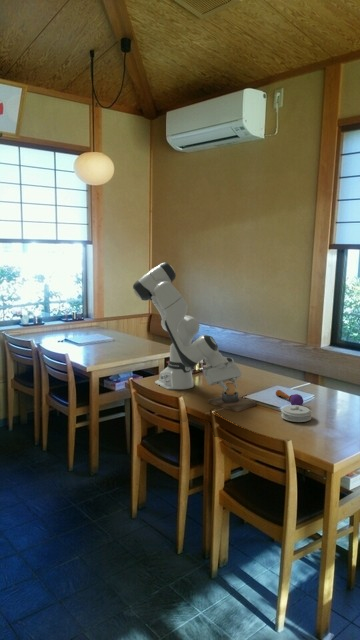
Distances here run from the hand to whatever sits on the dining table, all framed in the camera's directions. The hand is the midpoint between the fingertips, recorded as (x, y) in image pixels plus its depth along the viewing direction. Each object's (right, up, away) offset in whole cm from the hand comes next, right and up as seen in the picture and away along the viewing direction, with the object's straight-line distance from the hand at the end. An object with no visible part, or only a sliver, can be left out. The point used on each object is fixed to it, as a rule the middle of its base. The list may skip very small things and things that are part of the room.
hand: (231, 388), depth 218 cm
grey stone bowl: (0, -6, +1) cm, 6 cm away
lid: (+26, -10, -19) cm, 34 cm away
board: (0, -7, +1) cm, 7 cm away
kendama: (+28, -7, +3) cm, 29 cm away
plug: (0, -6, +1) cm, 6 cm away
